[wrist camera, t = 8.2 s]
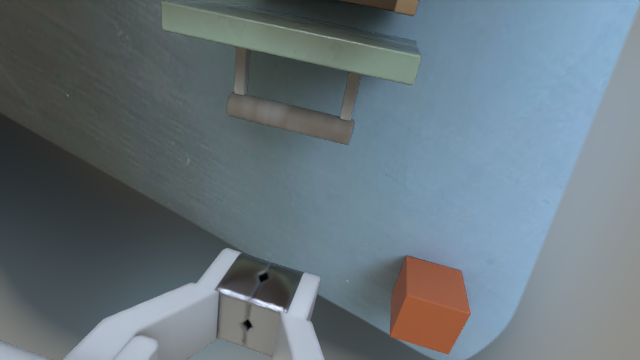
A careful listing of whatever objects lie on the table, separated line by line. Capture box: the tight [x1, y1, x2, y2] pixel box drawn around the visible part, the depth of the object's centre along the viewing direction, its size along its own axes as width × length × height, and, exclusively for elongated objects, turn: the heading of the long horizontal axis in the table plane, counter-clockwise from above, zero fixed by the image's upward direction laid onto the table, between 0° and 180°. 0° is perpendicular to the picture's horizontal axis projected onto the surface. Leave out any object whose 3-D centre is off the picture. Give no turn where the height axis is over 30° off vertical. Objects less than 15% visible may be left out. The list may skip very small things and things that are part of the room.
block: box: [390, 256, 471, 354], centre depth 27 cm, size 4×4×4 cm
